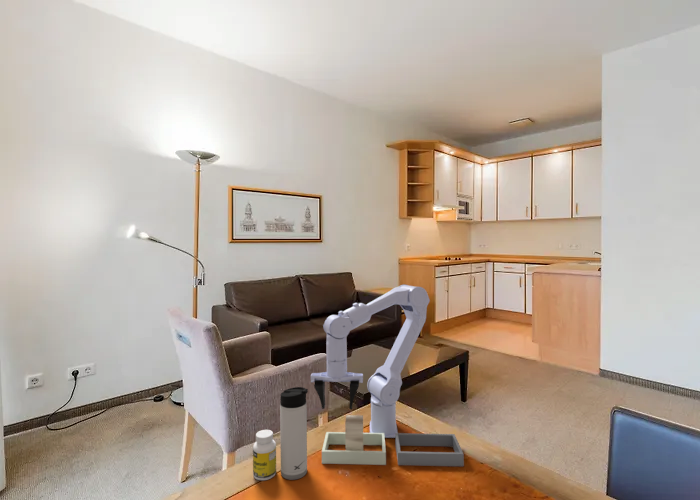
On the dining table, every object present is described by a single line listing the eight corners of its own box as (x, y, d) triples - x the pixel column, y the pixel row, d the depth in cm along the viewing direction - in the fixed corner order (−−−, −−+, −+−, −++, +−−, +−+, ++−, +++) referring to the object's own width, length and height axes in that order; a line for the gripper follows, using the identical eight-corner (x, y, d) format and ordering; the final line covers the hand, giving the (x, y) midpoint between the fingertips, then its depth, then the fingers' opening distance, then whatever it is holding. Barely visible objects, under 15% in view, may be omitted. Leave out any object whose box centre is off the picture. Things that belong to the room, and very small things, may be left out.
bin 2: (395, 444, 102) (395, 433, 102) (454, 445, 101) (454, 434, 101) (398, 465, 92) (398, 452, 92) (463, 466, 91) (463, 454, 91)
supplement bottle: (248, 477, 87) (247, 435, 87) (263, 465, 92) (263, 426, 92) (266, 484, 85) (265, 441, 85) (281, 471, 90) (280, 430, 90)
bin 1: (326, 442, 103) (326, 432, 103) (384, 443, 102) (384, 432, 102) (321, 463, 93) (321, 451, 93) (385, 464, 92) (385, 452, 92)
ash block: (346, 448, 100) (346, 415, 100) (363, 449, 99) (363, 415, 99) (345, 458, 95) (345, 423, 95) (363, 458, 95) (362, 423, 95)
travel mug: (303, 482, 85) (302, 395, 85) (276, 478, 87) (275, 393, 87) (311, 466, 91) (311, 385, 92) (286, 463, 93) (285, 383, 93)
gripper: (308, 362, 100) (309, 413, 100) (362, 363, 99) (362, 414, 99) (312, 355, 107) (313, 402, 107) (362, 355, 106) (363, 403, 106)
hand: (337, 407), depth 104 cm, fingers open, 7 cm apart
